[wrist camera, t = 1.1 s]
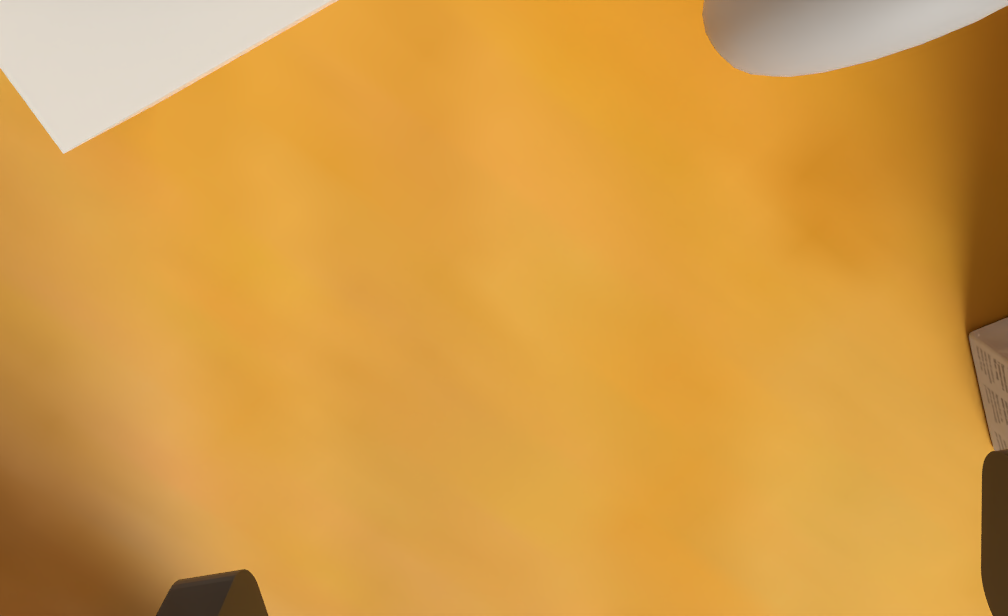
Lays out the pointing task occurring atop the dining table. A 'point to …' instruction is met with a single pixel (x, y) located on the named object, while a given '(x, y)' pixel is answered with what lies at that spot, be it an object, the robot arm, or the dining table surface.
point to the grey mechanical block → (993, 377)
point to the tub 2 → (126, 53)
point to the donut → (829, 30)
